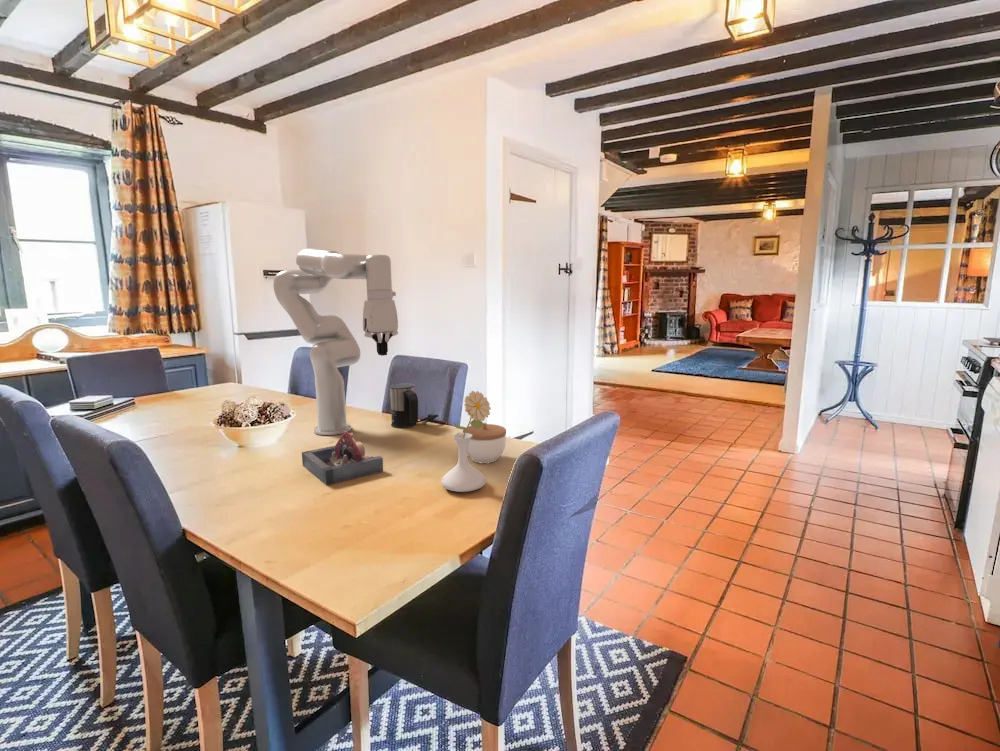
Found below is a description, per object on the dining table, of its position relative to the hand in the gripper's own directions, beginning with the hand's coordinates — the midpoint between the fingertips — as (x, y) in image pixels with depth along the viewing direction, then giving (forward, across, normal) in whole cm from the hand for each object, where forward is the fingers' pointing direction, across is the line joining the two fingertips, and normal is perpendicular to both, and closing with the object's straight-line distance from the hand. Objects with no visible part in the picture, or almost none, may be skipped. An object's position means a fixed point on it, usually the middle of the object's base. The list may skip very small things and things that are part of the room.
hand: (382, 354), depth 169 cm
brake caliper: (+29, +18, +14) cm, 37 cm away
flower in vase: (+29, 0, +46) cm, 55 cm away
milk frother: (+29, -19, -16) cm, 38 cm away
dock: (+29, +19, +13) cm, 37 cm away
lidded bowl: (+29, -16, +32) cm, 46 cm away
